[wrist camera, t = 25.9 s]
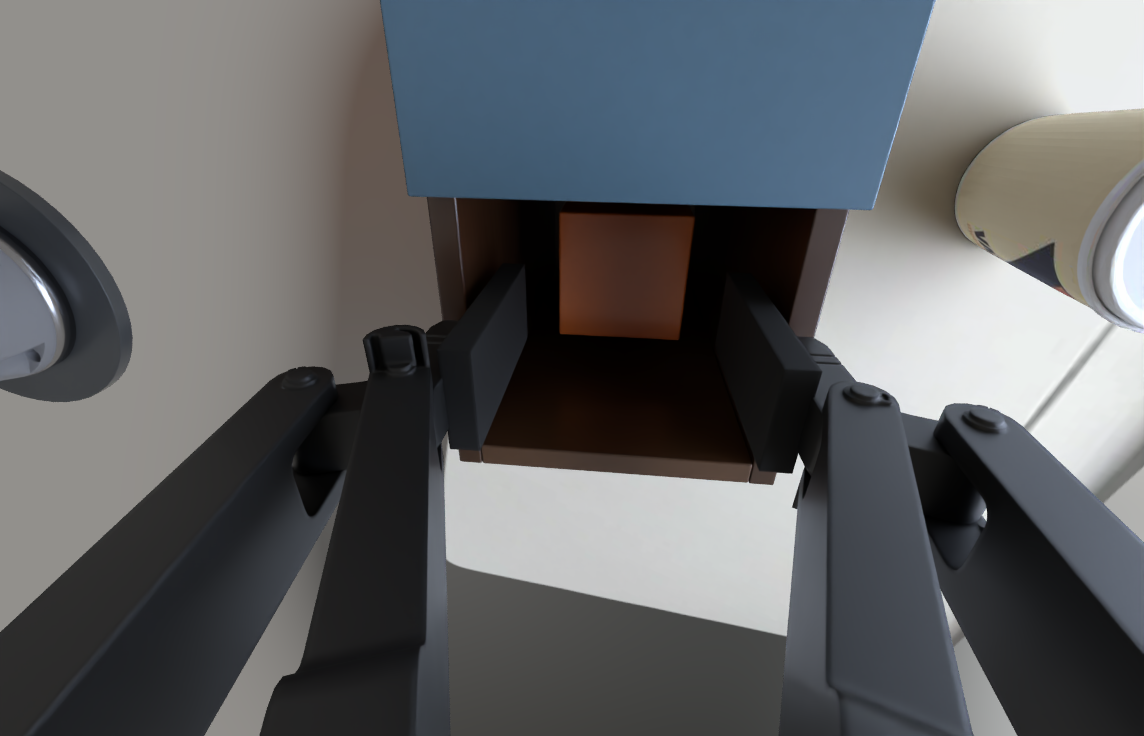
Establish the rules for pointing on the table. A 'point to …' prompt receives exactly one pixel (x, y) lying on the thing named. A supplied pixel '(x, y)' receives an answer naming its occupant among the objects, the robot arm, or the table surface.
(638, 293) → the block
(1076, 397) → the table surface
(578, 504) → the table surface
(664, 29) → the sliding lid
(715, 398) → the box
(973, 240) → the coffee cup
